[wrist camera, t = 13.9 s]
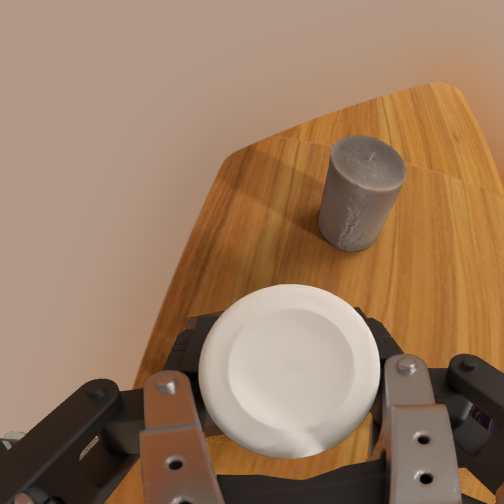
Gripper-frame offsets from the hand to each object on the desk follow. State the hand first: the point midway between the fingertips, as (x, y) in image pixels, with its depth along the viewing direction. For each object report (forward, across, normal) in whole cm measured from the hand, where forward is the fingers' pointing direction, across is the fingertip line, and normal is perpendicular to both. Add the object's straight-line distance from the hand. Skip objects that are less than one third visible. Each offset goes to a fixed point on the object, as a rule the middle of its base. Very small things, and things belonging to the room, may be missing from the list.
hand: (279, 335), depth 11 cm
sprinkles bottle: (+5, 0, +8) cm, 9 cm away
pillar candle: (+34, -13, +2) cm, 37 cm away
